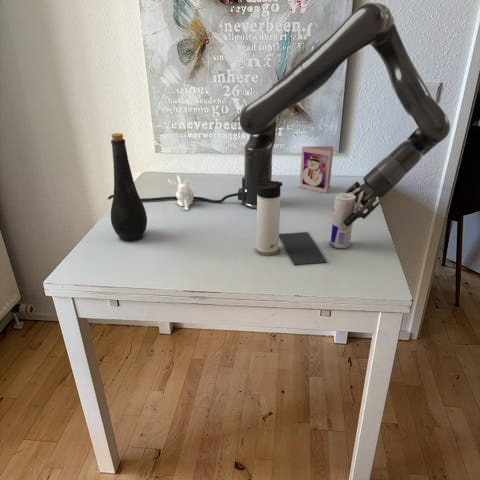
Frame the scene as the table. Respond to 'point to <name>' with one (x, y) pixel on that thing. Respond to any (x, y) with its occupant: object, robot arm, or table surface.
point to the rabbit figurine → (183, 193)
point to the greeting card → (316, 168)
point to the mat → (301, 248)
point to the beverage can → (341, 211)
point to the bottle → (125, 196)
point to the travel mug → (268, 217)
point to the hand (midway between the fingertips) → (340, 218)
